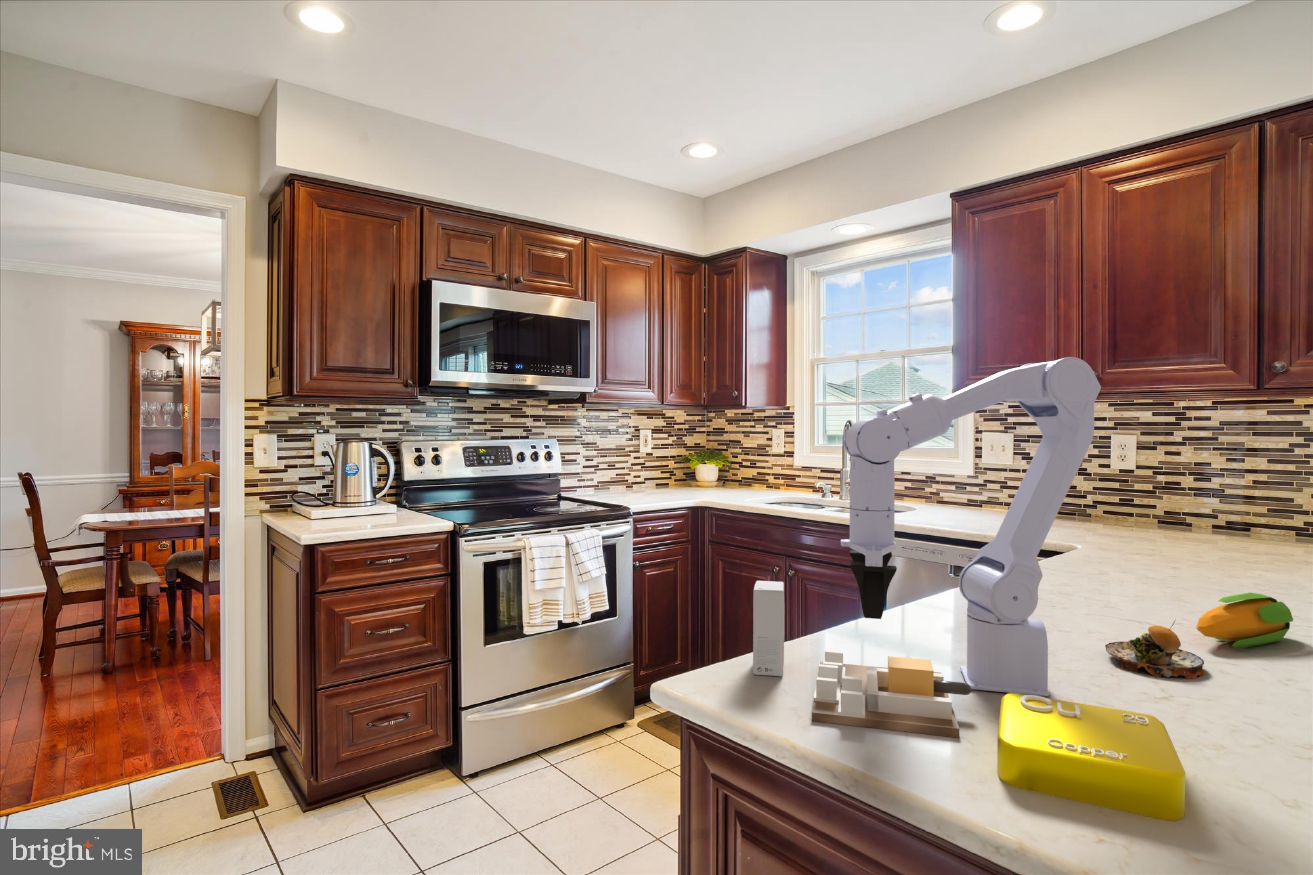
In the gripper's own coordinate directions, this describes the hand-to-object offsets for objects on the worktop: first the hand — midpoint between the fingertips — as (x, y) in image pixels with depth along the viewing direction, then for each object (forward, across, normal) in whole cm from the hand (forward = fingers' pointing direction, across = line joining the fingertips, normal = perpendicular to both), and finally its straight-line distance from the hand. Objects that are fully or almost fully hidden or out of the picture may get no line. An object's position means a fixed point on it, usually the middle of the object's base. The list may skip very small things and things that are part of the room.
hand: (871, 610), depth 92 cm
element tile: (+10, +18, +20) cm, 29 cm away
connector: (+9, +7, +6) cm, 13 cm away
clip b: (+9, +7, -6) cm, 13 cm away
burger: (+10, -18, +40) cm, 45 cm away
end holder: (+9, +7, +4) cm, 12 cm away
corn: (+10, -33, +57) cm, 67 cm away
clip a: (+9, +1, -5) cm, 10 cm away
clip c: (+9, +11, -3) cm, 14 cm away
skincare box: (+10, -2, -14) cm, 17 cm away
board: (+10, +5, +1) cm, 11 cm away
